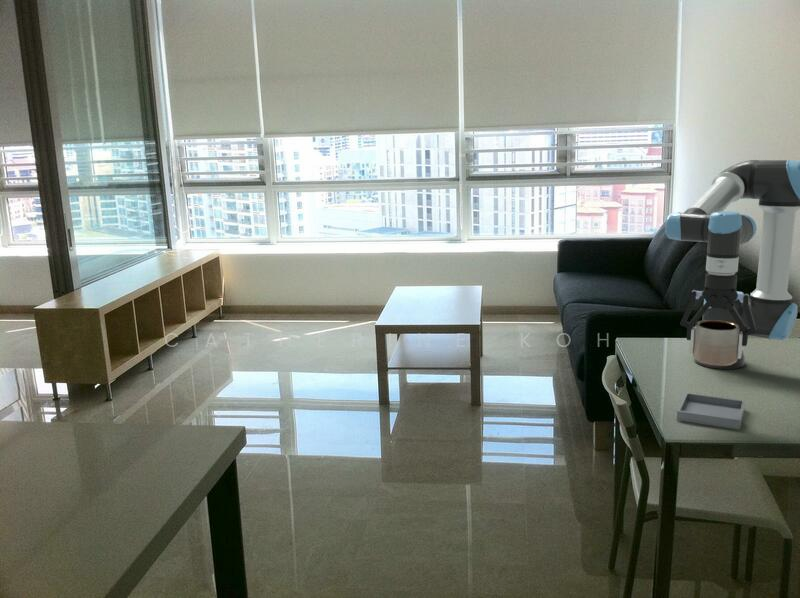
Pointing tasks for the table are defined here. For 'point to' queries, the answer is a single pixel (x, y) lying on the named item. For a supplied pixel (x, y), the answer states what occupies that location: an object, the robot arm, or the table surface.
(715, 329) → the planter
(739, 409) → the tray
